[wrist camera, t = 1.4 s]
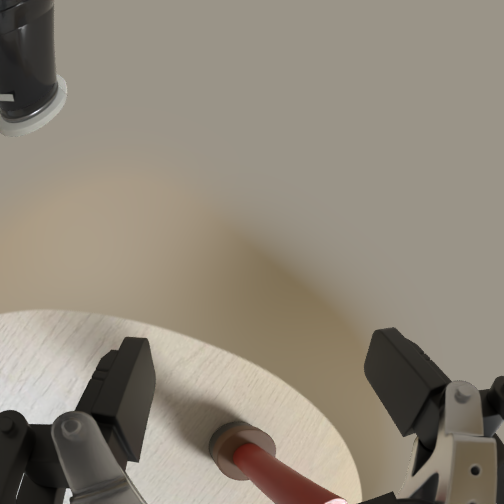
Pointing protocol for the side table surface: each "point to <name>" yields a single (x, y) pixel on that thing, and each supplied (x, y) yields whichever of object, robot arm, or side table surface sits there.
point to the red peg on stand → (263, 466)
